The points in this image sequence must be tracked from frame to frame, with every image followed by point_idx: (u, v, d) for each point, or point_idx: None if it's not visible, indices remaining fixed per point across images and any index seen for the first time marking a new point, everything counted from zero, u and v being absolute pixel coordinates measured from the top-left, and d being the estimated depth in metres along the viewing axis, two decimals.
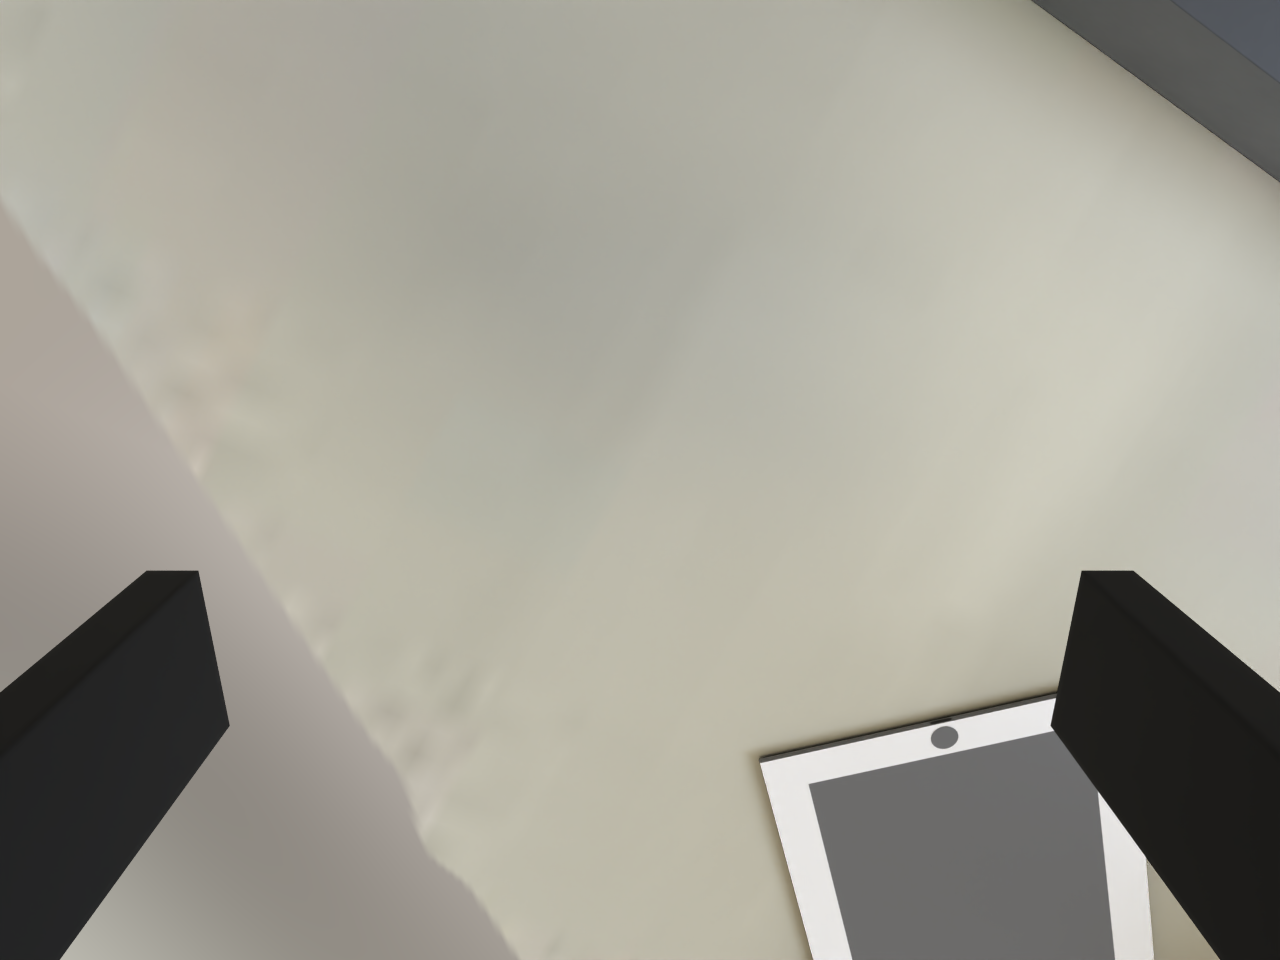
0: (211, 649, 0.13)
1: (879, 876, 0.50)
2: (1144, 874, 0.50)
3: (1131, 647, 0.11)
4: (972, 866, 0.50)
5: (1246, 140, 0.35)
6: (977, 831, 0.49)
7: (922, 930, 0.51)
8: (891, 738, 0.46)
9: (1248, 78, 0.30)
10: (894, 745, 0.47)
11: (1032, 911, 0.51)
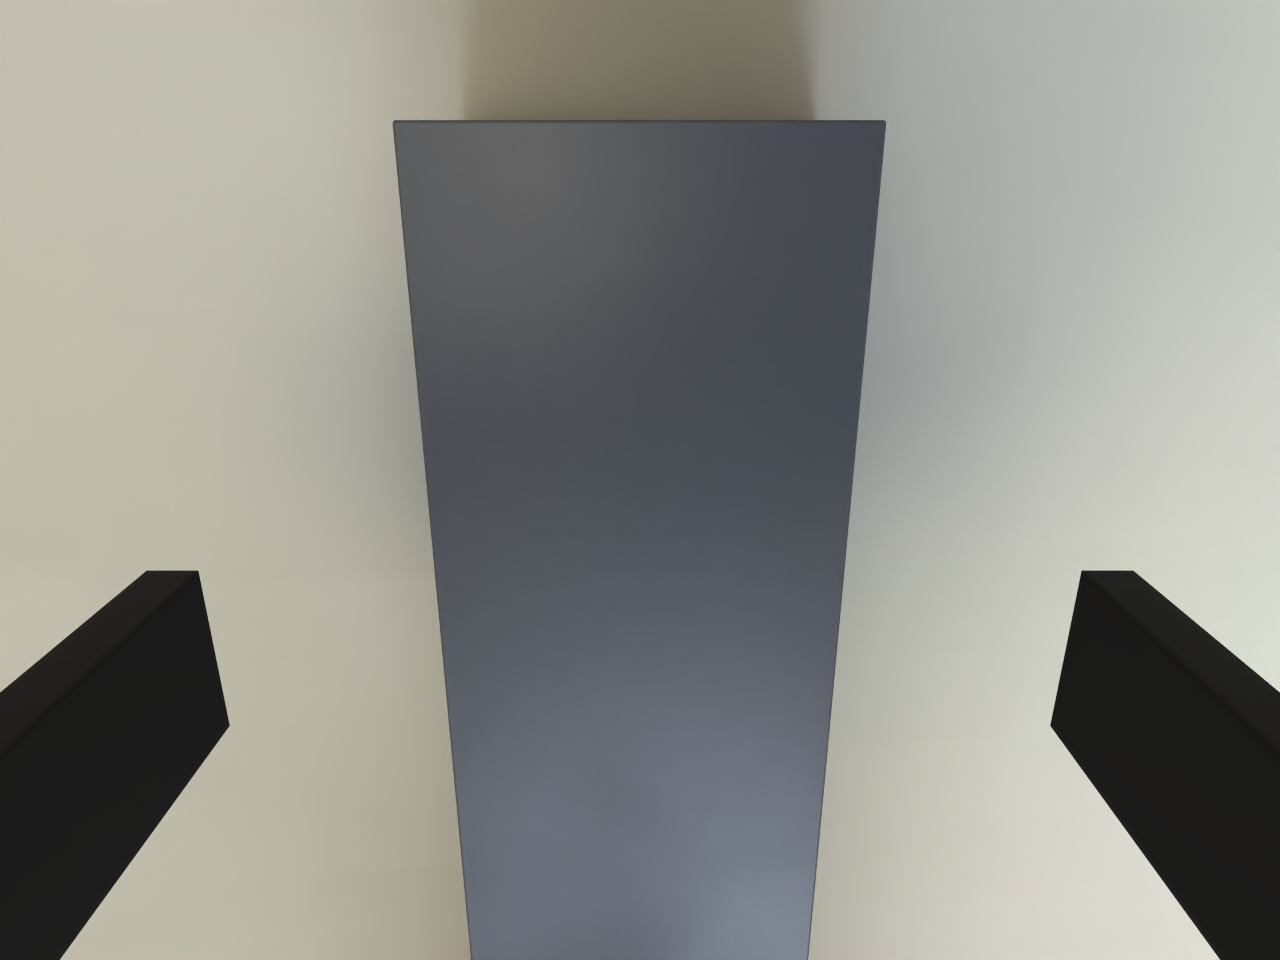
0: (211, 649, 0.13)
1: None
2: None
3: (1131, 648, 0.11)
4: None
5: None
6: None
7: None
8: None
9: None
10: None
11: None
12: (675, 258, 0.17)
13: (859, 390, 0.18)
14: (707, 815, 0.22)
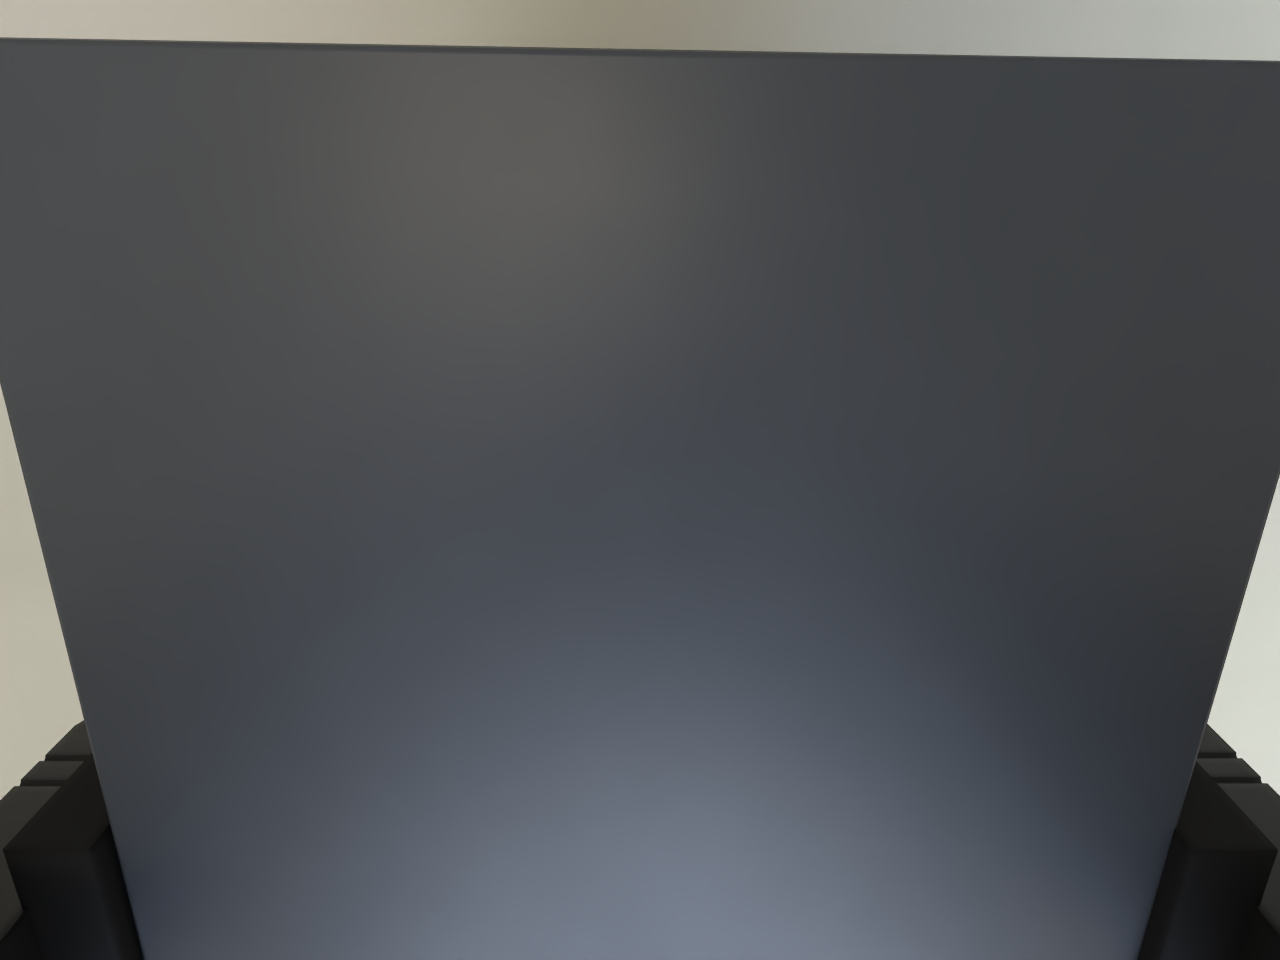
0: None
1: None
2: None
3: None
4: None
5: None
6: None
7: None
8: None
9: None
10: None
11: None
12: (754, 438, 0.06)
13: (1189, 743, 0.07)
14: None
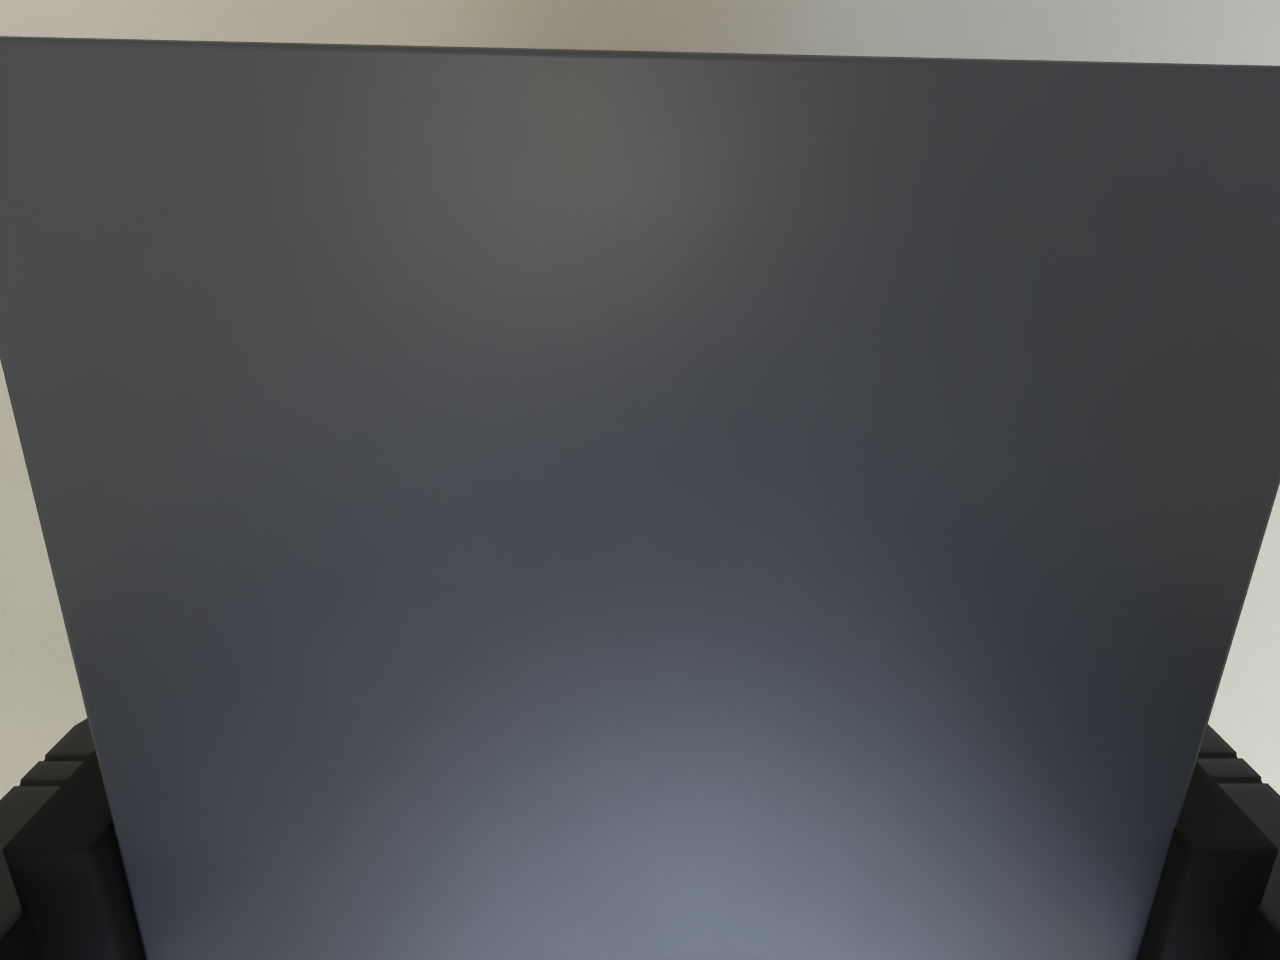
0: None
1: None
2: None
3: None
4: None
5: None
6: None
7: None
8: None
9: None
10: None
11: None
12: (756, 439, 0.06)
13: (1189, 744, 0.08)
14: None
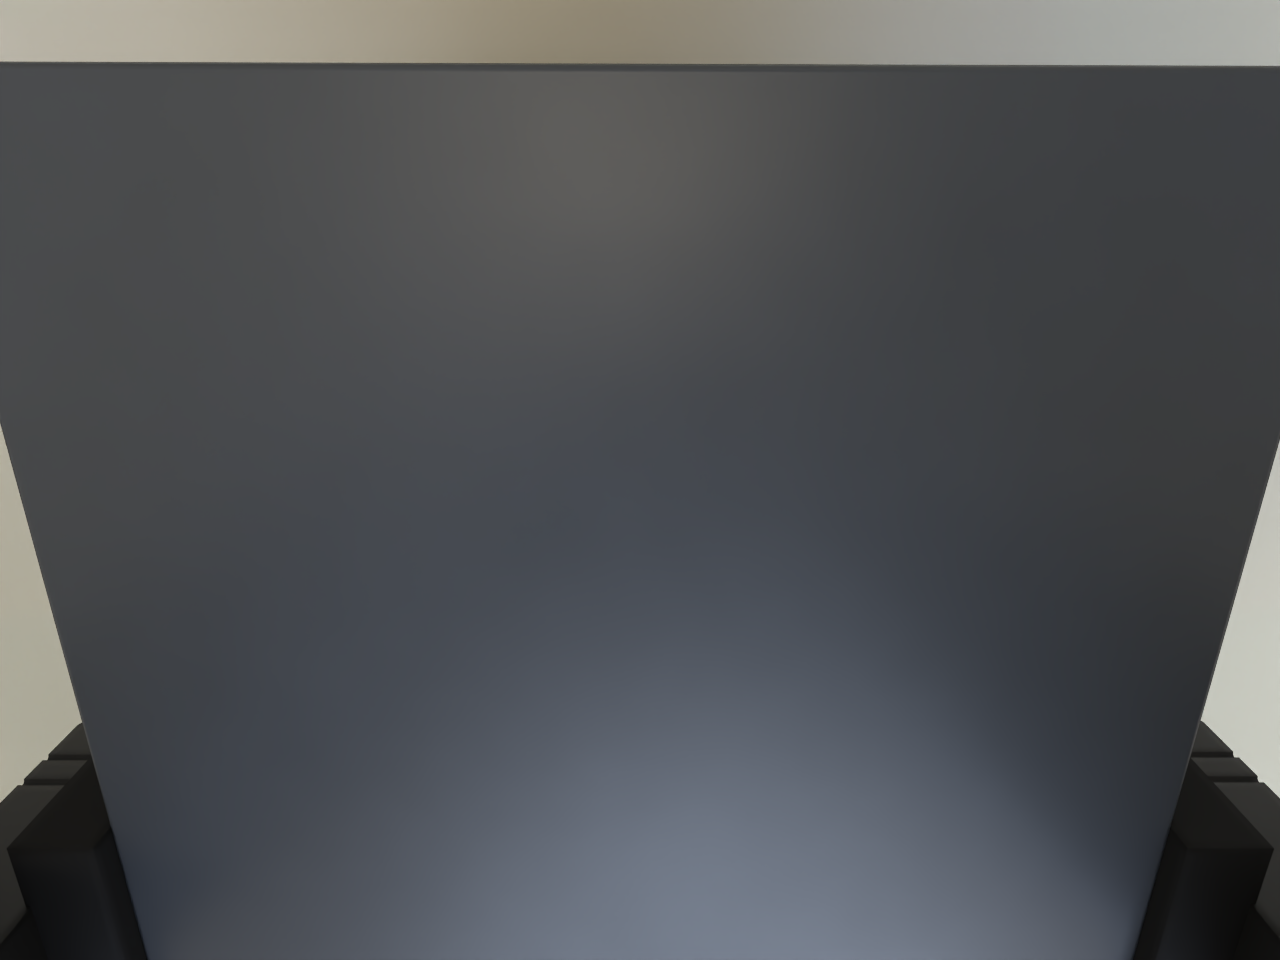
0: None
1: None
2: None
3: None
4: None
5: None
6: None
7: None
8: None
9: None
10: None
11: None
12: (740, 447, 0.06)
13: (1183, 744, 0.07)
14: None
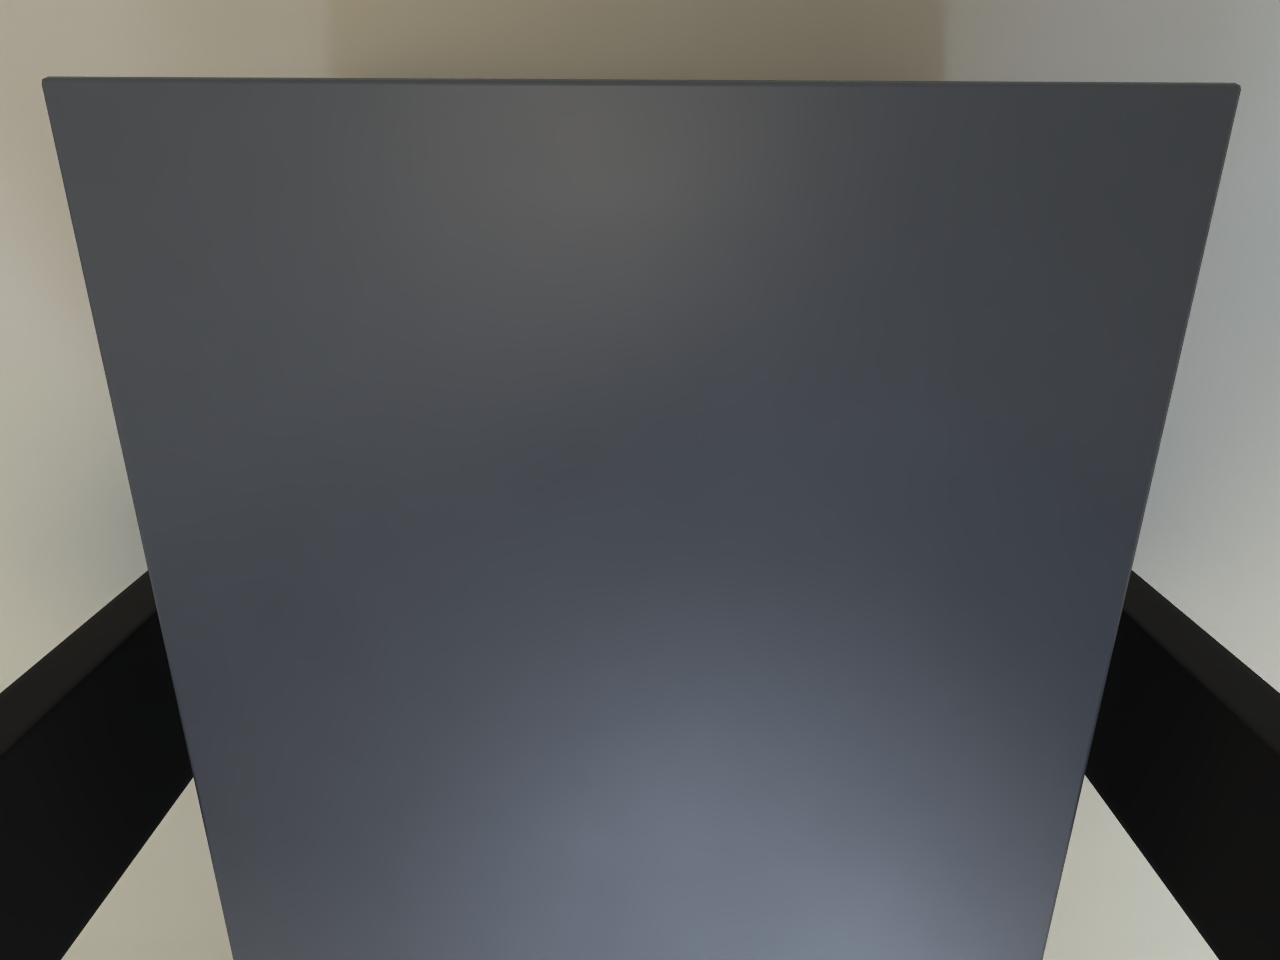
0: None
1: None
2: None
3: (1131, 647, 0.11)
4: None
5: None
6: None
7: None
8: None
9: None
10: None
11: None
12: (724, 398, 0.08)
13: (1103, 657, 0.09)
14: None
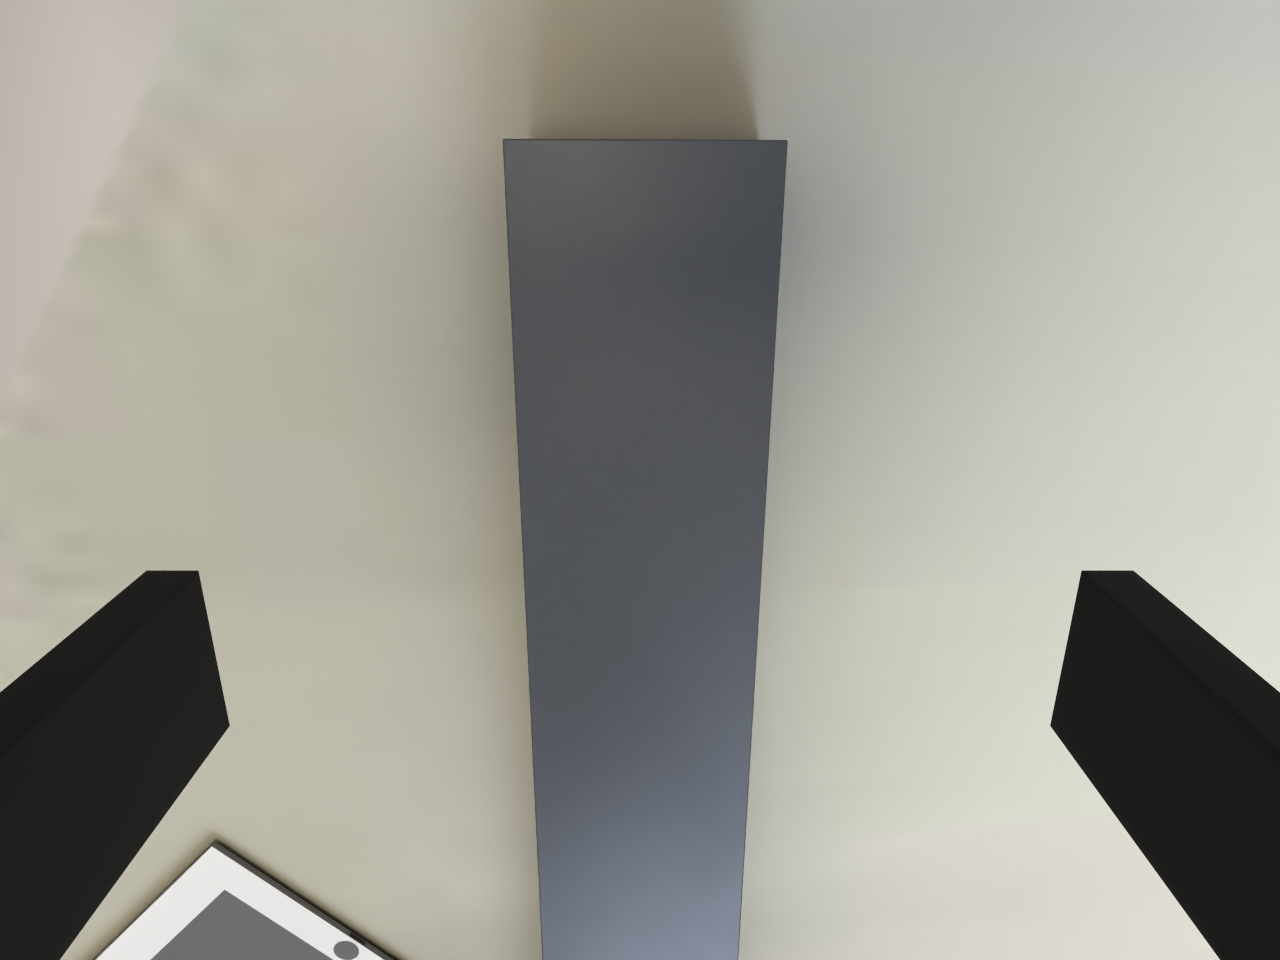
0: (210, 648, 0.13)
1: None
2: None
3: (1131, 647, 0.11)
4: None
5: None
6: None
7: None
8: (314, 918, 0.49)
9: None
10: (310, 923, 0.49)
11: None
12: (666, 220, 0.29)
13: (777, 301, 0.30)
14: (686, 586, 0.34)
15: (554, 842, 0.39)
